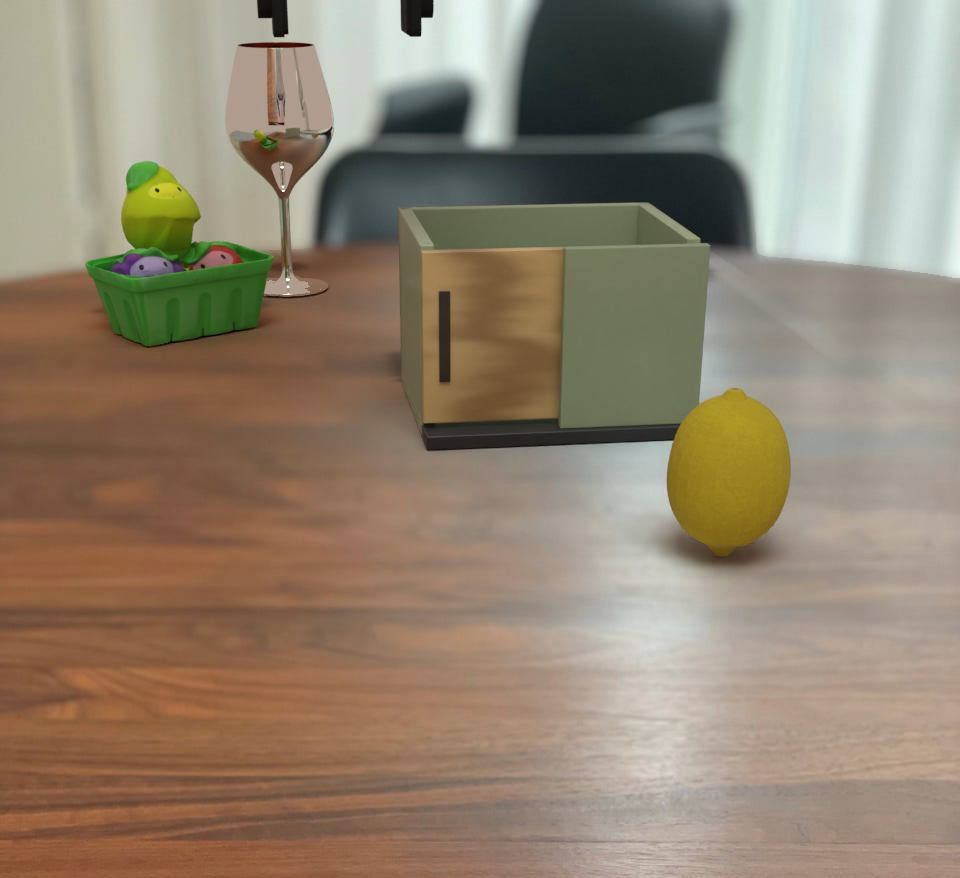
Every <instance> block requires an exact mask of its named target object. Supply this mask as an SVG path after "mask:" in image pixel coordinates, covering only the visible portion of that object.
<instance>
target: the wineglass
mask: <svg viewBox="0 0 960 878" xmlns="http://www.w3.org/2000/svg"><path fill="white" fill-rule="evenodd" d="M226 98H227V99H226V104H225V112H224V113H225V114H224V126H225V133H226V135H227V138H228V140H229V143H230V145H231V146H232V148H233V149H234V151H235V152H236V153H237V155H238V156H239V157H240V158H241V159H242V160H243V162H245V163H246V164H247V165H248V166H249V167H250V168H251V169H253V170H254V171H255V172H256V173H257V174H258V175H259V176H261V178H263V179H264V180H265V181H266V182H267V183H268V184H269V186H271V188H272V189H273V191H274V192H275V194H276V196H277V199H278V212H279V230H280V252H281V269H280V270H281V271H280V276H279V277H280V278H279V279H278V280H277V281H272V280H269V281H267V282H266V286H265V291H264V294H265V295H279V296H280V295H298V294H305V293H310V291H308V290H307V289H305V288H308V287H310V286H309V285H308V282H305V281H299V280H298V279H297V278H296V277H297V276H296V275H295V273H294V266H293V255H292V253H293V252H292V239H291V218H290V216H291V215H290V196H291V193H292V192H293V189H294V188H295V186H296V185H297V184H298V183H299V181H300V180H301V179H302V178H303V177H304V176H305V175H306V173H308V172H309V171H310V170H311V169H312V168H313V167H314V166H315V165H316V164H317V163H318V162H319V160H320V159H322V157H323V156H324V154H325V153H326V152H327V150H328V148H329V147H330V144H331V141H332V139H333V136H334V132H335V117H334V112H333V107H332V102H331V99H330V95H329V90H328V86H327V82H326V80H325V76H324V73H323V69H322V66H321V62H320V59H319V56H318V52H317V48H316V45H315V44H314V43H309V42H308V43H307V42H296V41H261V42H260V41H259V42H245V43H244V42H243V43H239V44H236V49H235V53H234V59H233V64H232V69H231V75H230V79H229V86H228V91H227V97H226ZM320 290H321V289H320Z"/></svg>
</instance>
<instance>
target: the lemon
mask: <svg viewBox="0 0 960 878" xmlns="http://www.w3.org/2000/svg"><path fill="white" fill-rule="evenodd" d="M672 441H673V442H672V445H671V448H670V452H669V458H668V461H667V468H666V469H667V470H666V491H667V499H668V502H669V506H670V509H671V511H672V514H673V515H674V518H675V519H676V521H677V523H678V524H679V526H680V527H681V528H682V530H684V532H686V534H687V535H689V536H690V537H692V538H693V539H694V540H696V541H698V542H699V543H701V544H704V545H706V546H707V547H708V548H709V549H710V551H711V552H712V553H713V554H714V555H715V556H718V557H728V556H729V555H730V554H732V553H733V552H734V551H735V550H736V549H737V548H739V547H743V546H746V545H749V544H751V543H754V542H755V541H758V540H759V539H760V538H761V537H763V536H764V535H765V534H766V533H767V532H769V531H770V529H772V528H773V527H774V525H775V523H776V522H777V521H778V520H779V518H780V516H781V514H782V512H783V509H784V507H785V504H786V501H787V497H788V493H789V490H790V483H791V473H792V470H791V467H792V466H791V463H792V462H791V453H790V447H789V443H788V438H787V435H786V432H785V430H784V427H783V425H782V423H781V422H780V420H779V418H778V417H777V416H776V414H775V413H774V412H773V411H772V410H771V409H770V408H769V407H767V405H765V404H764V403H762V402H760V401H759V400H757V399H755V398H753V397H751V396H748V395H747V394H746V393H745V391H744V390H743V389H742V388H737V387H730V388H727V389H726V391H724V393H722V394H720V395H716V396H713V397H710V398H708V399H706V400H704V401H703V402H701V403H699V405H698V406H697V407H695V408H694V409H693V410H692V411H691V412H690V413H689V414H688V415H687V416H686V417H685V419H684V420H683V421H682V423H681V424H680V426H679V428H678V430H677V433H676V435H675V438H674V440H672Z"/></svg>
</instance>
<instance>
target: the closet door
mask: <svg viewBox="0 0 960 878" xmlns="http://www.w3.org/2000/svg"><path fill="white" fill-rule="evenodd" d="M563 249H564V248H563V247H532V248H492V249H451V250H421V323H422V412H423V422H424V423H450V422H474V421H499V420H524V419H549V418H558V417H559V384H560V350H561V317H562V283H563Z"/></svg>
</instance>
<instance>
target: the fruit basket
mask: <svg viewBox="0 0 960 878" xmlns="http://www.w3.org/2000/svg"><path fill="white" fill-rule="evenodd" d="M125 183H126V194H125V199H124V201H123V203H122V207H121V213H120V214H121V215H120V220H121V227H122V232H123V234H124V237H125V239H126V241H127V242H128V244H129V245H131V246H132V247H133V249H131V248H130V249H129V250H127V251H126V252H125V253H121V254H116V255H110V256H105V257H99V258H93V259H90V260H87V261H85V263H84V266H85V269H86V270H87V272H88V274H89V277H90V278H92V280H93V282H94V285H95V288H96V290H97V293H98V296H99V299H100V301H101V304H102V306H103V309H104V311H105V314H106V317H107V319H108V321H109V324H110V326H111V327H110V328H111V330H112V332H113V333H114V334H116V335H119V336H122V337H123V338H125V339H127V340H130V341H132V342H134V343H138V342H139V343H138V344H141V345H143V346H144V347H147V346H149V347H154V346H160V344H161V345H165V344H164V343H166V344H169V343H171V342H170V341H172V343H174V341H175V342H182V341H183V342H184V341H188V340H193V339H197V338H201V337H209V336H214V335H219V334H225V333H229V332H232V331H240V330H246V329H252V328H256V327H258V323H259V319H260V315H261V309H262V305H263V301H264V297H265V296H264V291H265V286H266V282H267V278H269V277H268V276H269V272H270V271H271V270H272V266H273V262H274V258H275V257H274V255H272V254H270V253H266V252H263V251H261V250H257V249H254V248H250V247H246V246H243V245H240V244H238V243H234V242H229V241H223V240H221V241H220V240H213V241H203V240H201V241H196V240H195V241H193V232H194V225H195V224H196V223H197V222H199V220H200V219H201V218H202V215H201V212H200V211H201V210H200V209H199V206H198V203H197V202H196V200H195V199H194V198H193V196H192V194H191V193H190V192H189V191H188V190H187V189H186V188H185V187H183V185H181V183H179V182H178V180H177V179H176V177H175V175H174V174H172V172H171V171H170V170H168V169H166V168H165V167H162V166H160V165H159V164H158V163H157V162H155V161H151V160H144V161H140V162H138V161H137V162H134V163H133V164H132V165H131V166H130V167H129V169H128V171H127V172H126V175H125ZM168 342H169V343H168Z"/></svg>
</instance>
